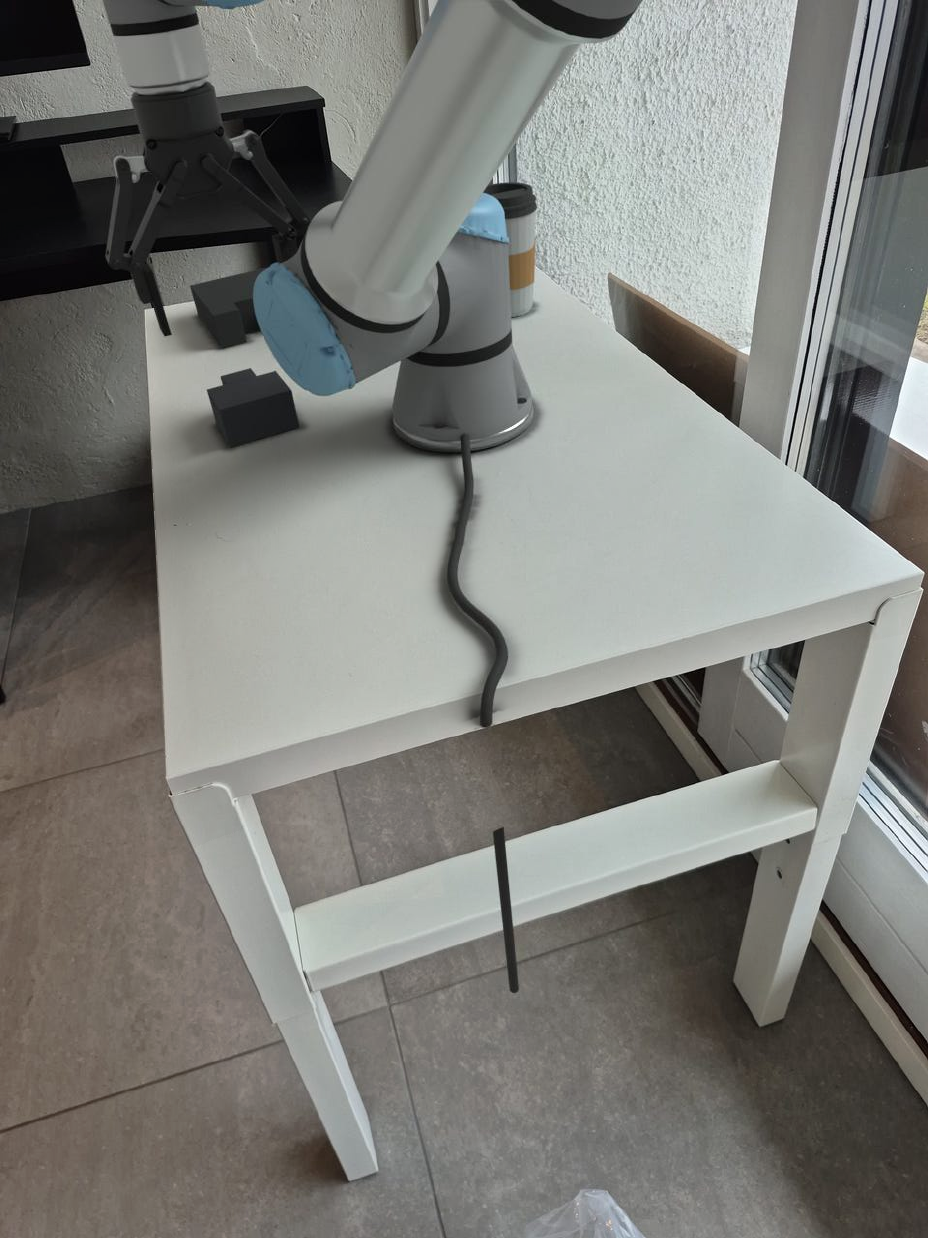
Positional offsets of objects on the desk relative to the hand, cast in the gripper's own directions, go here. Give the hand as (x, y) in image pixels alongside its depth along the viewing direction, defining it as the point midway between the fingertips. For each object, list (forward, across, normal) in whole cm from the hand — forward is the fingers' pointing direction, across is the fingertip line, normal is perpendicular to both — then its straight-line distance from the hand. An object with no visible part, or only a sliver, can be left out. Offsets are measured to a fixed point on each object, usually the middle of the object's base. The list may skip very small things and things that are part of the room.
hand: (230, 316), depth 95 cm
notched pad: (+12, -7, -31) cm, 34 cm away
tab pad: (+12, 0, 0) cm, 12 cm away
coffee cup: (+12, -39, -12) cm, 42 cm away
